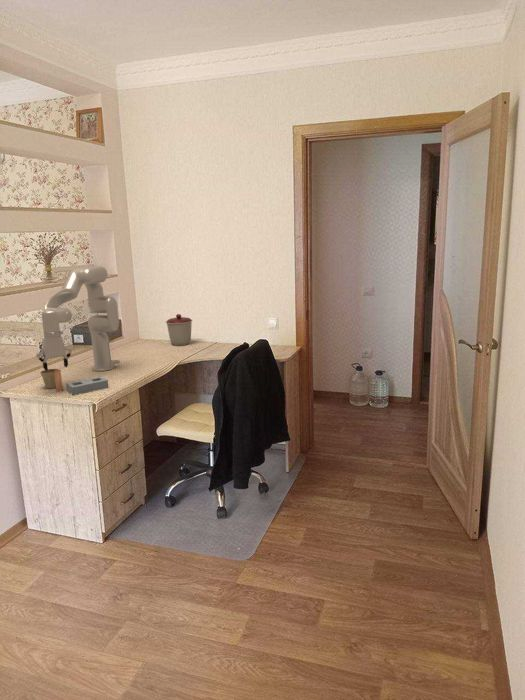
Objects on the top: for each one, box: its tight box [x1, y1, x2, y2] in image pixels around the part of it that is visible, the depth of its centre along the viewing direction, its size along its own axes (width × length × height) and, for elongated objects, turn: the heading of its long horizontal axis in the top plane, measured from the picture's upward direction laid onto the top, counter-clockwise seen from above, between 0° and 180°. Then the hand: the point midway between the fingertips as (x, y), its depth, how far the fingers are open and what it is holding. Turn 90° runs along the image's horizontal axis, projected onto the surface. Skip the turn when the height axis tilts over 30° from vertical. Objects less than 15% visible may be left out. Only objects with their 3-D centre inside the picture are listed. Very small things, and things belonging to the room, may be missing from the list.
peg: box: [54, 369, 64, 393], centre depth 269 cm, size 3×3×11 cm
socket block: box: [65, 375, 109, 396], centre depth 271 cm, size 18×10×4 cm, turn 127°
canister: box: [165, 313, 193, 347], centre depth 364 cm, size 18×18×21 cm
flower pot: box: [39, 368, 60, 389], centre depth 278 cm, size 9×9×9 cm
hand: (56, 368), depth 267 cm, fingers open, 9 cm apart
